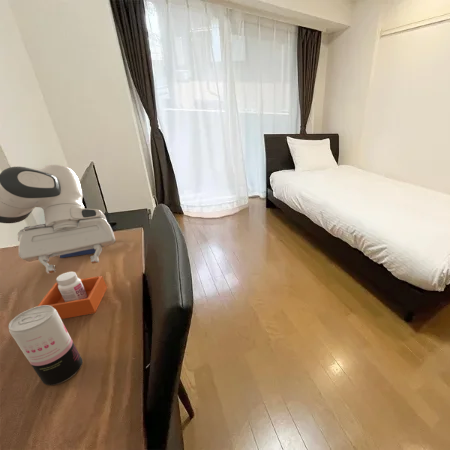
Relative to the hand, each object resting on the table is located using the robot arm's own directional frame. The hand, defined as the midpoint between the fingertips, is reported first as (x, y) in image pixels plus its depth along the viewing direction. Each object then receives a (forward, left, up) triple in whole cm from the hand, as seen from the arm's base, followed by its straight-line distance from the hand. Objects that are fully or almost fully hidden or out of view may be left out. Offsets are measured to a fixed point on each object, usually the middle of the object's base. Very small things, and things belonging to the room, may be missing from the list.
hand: (73, 267), depth 72 cm
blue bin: (-10, +30, -10) cm, 33 cm away
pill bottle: (-1, -3, -9) cm, 10 cm away
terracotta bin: (-1, -3, -10) cm, 10 cm away
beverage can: (+4, -25, -10) cm, 27 cm away
